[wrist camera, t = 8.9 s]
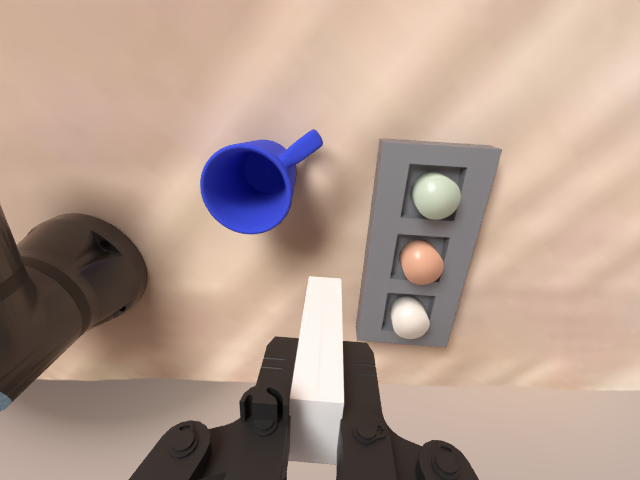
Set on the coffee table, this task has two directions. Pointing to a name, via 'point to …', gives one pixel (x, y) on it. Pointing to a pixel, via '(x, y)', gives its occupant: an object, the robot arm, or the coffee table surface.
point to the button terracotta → (420, 262)
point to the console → (421, 234)
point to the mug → (254, 182)
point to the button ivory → (409, 317)
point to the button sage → (435, 195)
